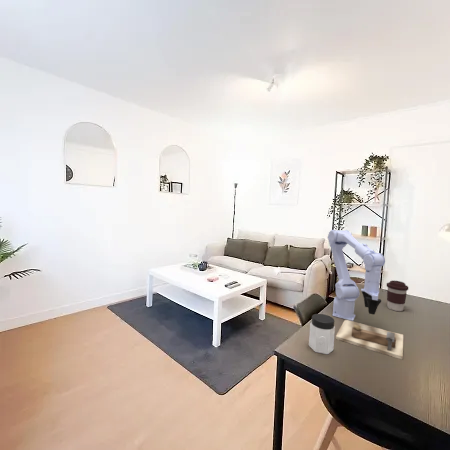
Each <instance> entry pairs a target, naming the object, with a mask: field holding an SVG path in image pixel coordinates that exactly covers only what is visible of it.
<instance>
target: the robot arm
mask: <svg viewBox="0 0 450 450" xmlns="http://www.w3.org/2000/svg"><path fill="white" fill-rule="evenodd" d="M327 239H328V243H329V248H330V250H331V254H332V258H333V262H334V263H333V264H334V266H335V270H336V273H337V277H338V278H337V279H338V281H337V282H336V283H335V285H334V286H335V295H336V296H335V297H334V299H333V305H332V306H333V307H332V315H331V316H333V317H336V318H339V319H342V320H343V319H344V320H349V321H353V322H354V320H355V318H356V314H355V304H356V301H357V299H358V298H359V297H360V291H361V293H362V297H363V301H364V308H367V311H368V315H375V314H376V313H377V309H378V306H379V305H380V304H382V300H381V299H379V294H380V283H381V273H382V271H381V270H382V267H383V266H384V265H385V264H386V258H385V255H383V254H382V253H380V252H375V250H374V249H372V248H370V247H369V246H368V244H367V243H361V242H359V241H358V240H357V239H356V238H355V237H354V236H353V233H352V232H351V231H350V230H348V229H345V230H341V229H339V230H338V229H337V230H336V229H331V230H329V232H328V234H327ZM348 245H349V246H350V247H352V248H353V249H354V253H355V254H356V255H357V256H358V257H360V258H361V259H362V260H363V264H364V270H365V275H364V286H363V288H360V289H359V287H358V286H357V283H356V282H355V281H354V280H353V279H351V276H350V272H349V269H348V265H347V261H346V258H345V254H344V251H343V249H344V248H345V247H346V246H348Z"/></svg>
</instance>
